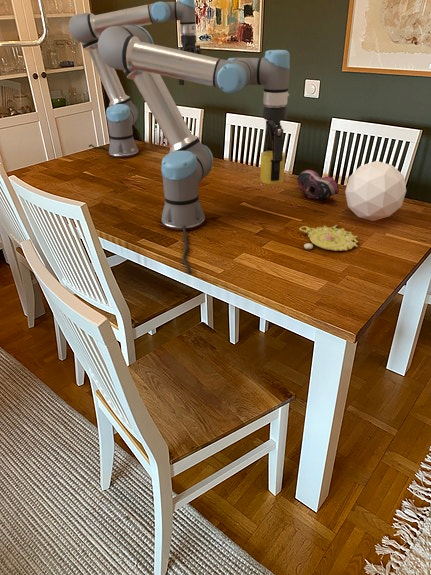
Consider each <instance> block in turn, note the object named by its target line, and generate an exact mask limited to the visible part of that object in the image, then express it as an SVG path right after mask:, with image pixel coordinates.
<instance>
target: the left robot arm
mask: <svg viewBox="0 0 431 575" xmlns="http://www.w3.org/2000/svg"><path fill="white" fill-rule="evenodd" d="M173 21H179V33H180V44H181V45H182V46H178V47H177V50H181V51H186V52H191V53H195V54H200V55H203V53H202V50H201V45H200V44H197V42H198V41H197V25H196V21H197V20H196V4H195V0H177V1H161V0H160V1H155V2H154V3H149V4H144V5H143V4H142V5H139V6H133V7H130V8H129V7H128V8H124V9H119V10H115V11H110V12H106V13H105V12H104V13H100V14H94V13H88V12H85V13H77V14H74V15H72V16H71V18H70V19H69V22H68V30H69V34H70V36H71V37H72V38H73V39H74V41H76V42H78V43H80V44H81V47H82V48H83V50H84V51H86V52H87V53H88V54H89V56H90V59H91V62H92V63H93V65H94V68H95V70H96V73H97V75H98V77H99V79H100V81H101V83H102V85H103V88H104V90H105V92H106V95H107V97H108V99H109V104H108V107H107V108H106V111H105V112H106V115H105V116H106V119H107V128H108V132H109V140H110V141H109V148H107V147H106V146H95V145H93V144H89V145H88V148H91V147H92V148H93V149H105V150H106V151H108V156H109V157H111V158H115V159H125V158H132V157H135V156H137V155H139V148H138V145H137V143H136V141H135V139H134V132H133V126H134V125H135V124H136V123H137V121H138V118H139V110H138V107H137V106H136V105H135V104H134V103H133V102H132V99H131V96H129V95H127V94H126V92H125V90H124V88H123V86H122V83H121V81H120V77H119V76H118V74H117V71H116V69H114V68H111V67H109V66H108V65H107V64H105V63H104V61H103V60H102V59H101V57H100V55H99V52H98V40H99V37H100V35H101V33H102V32H103V31H104V30H105V29H107V28H109V27H112V26H123V25H127V24H134V25H138V26H141V27H144V26H148V25H149V26H150V25H154V24H158V23H165V22H173ZM178 85H179V86H185V80H182V79H178Z"/></svg>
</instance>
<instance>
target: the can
mask: <svg viewBox="0 0 431 575" xmlns="http://www.w3.org/2000/svg"><path fill="white" fill-rule="evenodd" d="M282 159H283V160H282V161H280V175H279V180H278V181H271V164H272V162H271V161H270V160H273V156H272V151H262V152H261V154H260V172H259V173H260V174H259V181H260V182H261V183H263V184H266V185H278V184H282V183H283V182H284V181H285V180H284V179H285V165H286V164H285V163H286V153H285V152H284V151H282Z"/></svg>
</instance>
